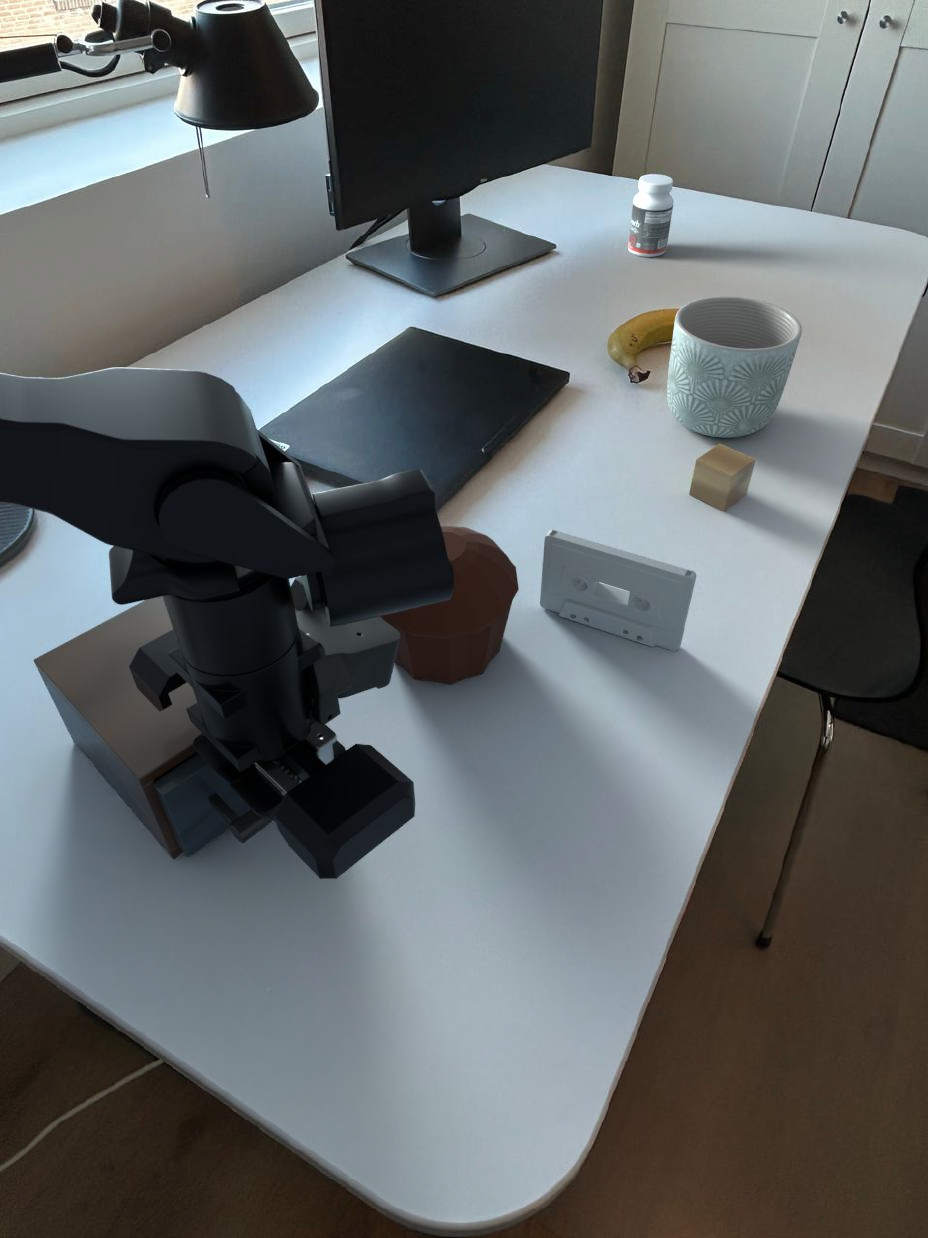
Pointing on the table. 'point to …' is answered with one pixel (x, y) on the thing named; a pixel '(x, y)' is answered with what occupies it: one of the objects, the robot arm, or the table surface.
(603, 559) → the cassette
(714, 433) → the planter
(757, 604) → the table surface
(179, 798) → the drawer
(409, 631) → the muffin
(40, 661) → the cabinet
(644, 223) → the pill bottle
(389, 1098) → the table surface
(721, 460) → the oak block
